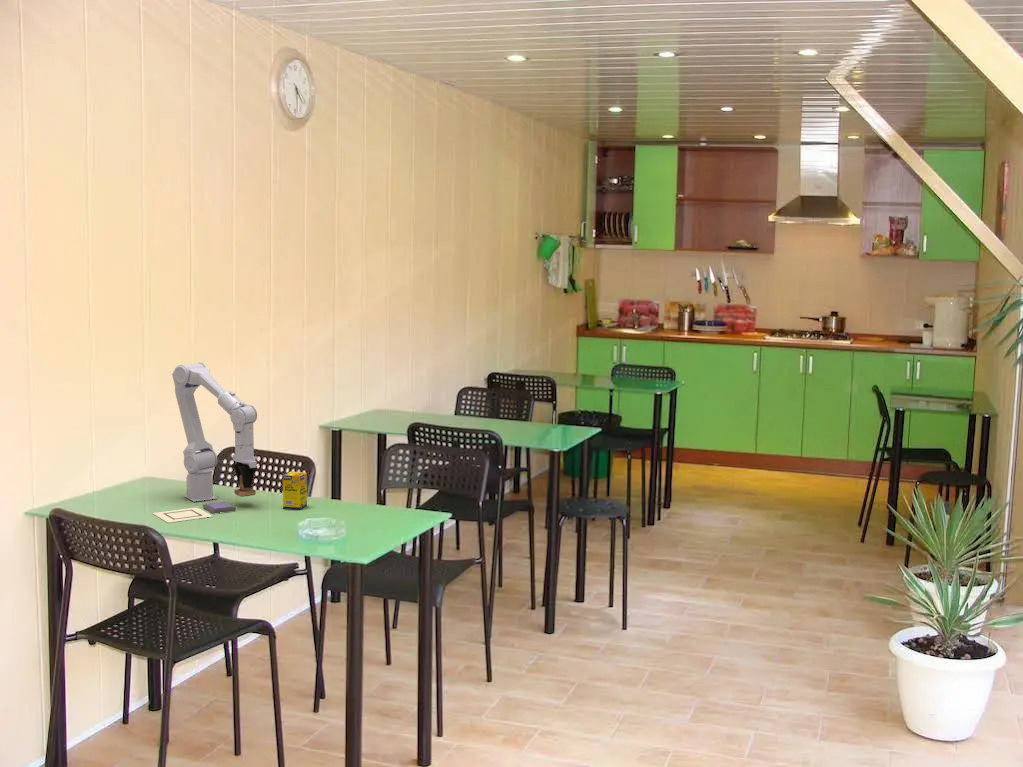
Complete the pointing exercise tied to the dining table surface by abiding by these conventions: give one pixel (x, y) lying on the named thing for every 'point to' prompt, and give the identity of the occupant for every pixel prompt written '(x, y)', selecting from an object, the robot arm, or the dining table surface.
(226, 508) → the ink pad
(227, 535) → the dining table surface
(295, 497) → the supplement box
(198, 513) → the paper sheet
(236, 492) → the stamp
